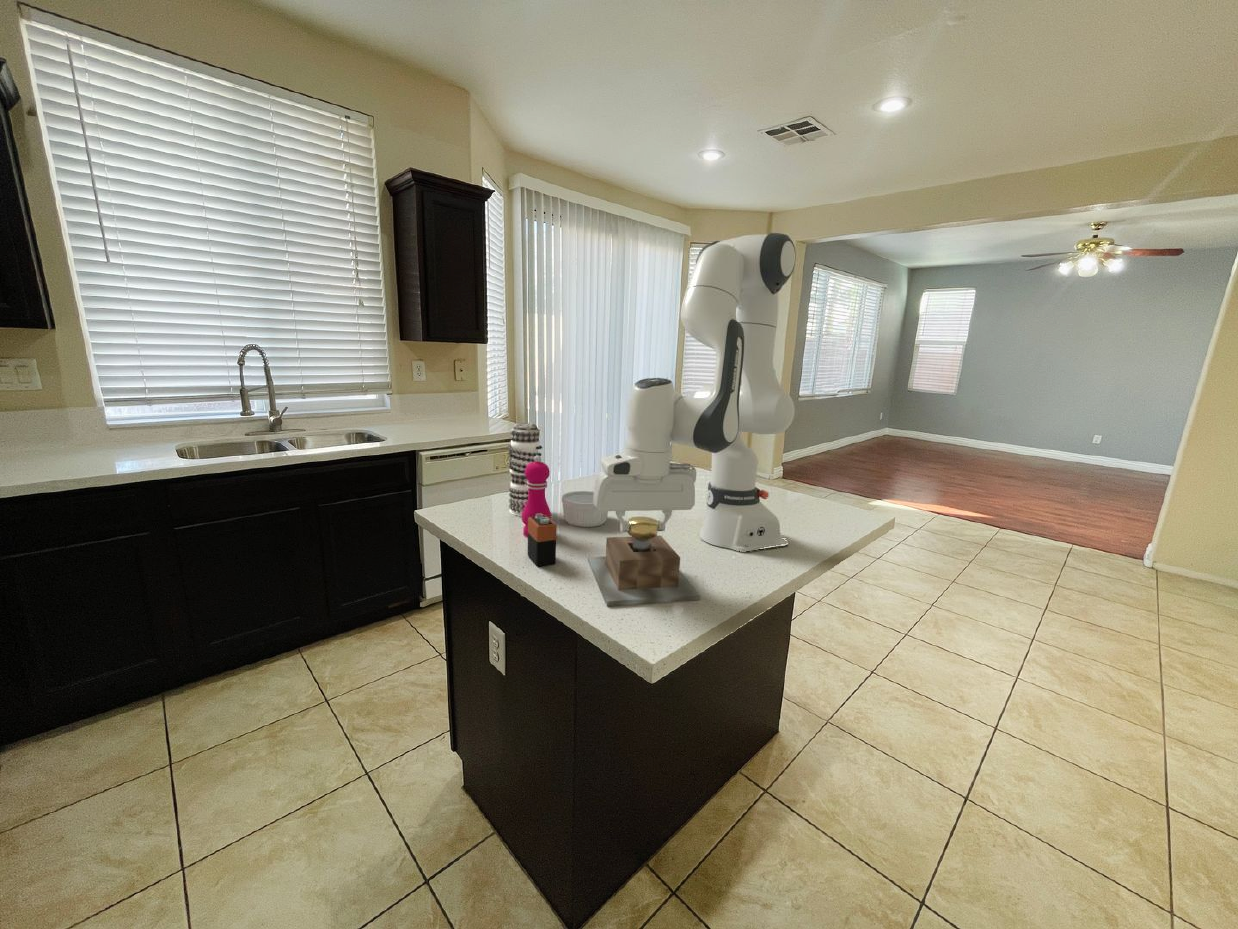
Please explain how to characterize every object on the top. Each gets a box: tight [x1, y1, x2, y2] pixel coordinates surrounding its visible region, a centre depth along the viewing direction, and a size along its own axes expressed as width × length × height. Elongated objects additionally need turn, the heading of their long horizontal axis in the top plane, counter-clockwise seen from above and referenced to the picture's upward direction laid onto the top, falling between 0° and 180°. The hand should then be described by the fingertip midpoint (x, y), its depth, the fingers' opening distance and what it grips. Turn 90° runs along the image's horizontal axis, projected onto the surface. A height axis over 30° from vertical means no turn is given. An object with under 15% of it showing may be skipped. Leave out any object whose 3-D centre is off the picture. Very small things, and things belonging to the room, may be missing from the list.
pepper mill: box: [521, 455, 552, 538], centre depth 120 cm, size 7×7×20 cm
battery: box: [527, 514, 558, 567], centre depth 105 cm, size 4×7×10 cm, turn 28°
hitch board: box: [587, 535, 701, 607], centre depth 99 cm, size 18×20×7 cm
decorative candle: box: [507, 422, 543, 517], centre depth 136 cm, size 9×9×25 cm
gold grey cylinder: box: [626, 516, 659, 552], centre depth 98 cm, size 6×6×8 cm
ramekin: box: [561, 490, 609, 528], centre depth 133 cm, size 13×13×7 cm
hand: (642, 530), depth 97 cm, fingers closed on gold grey cylinder, 6 cm apart
